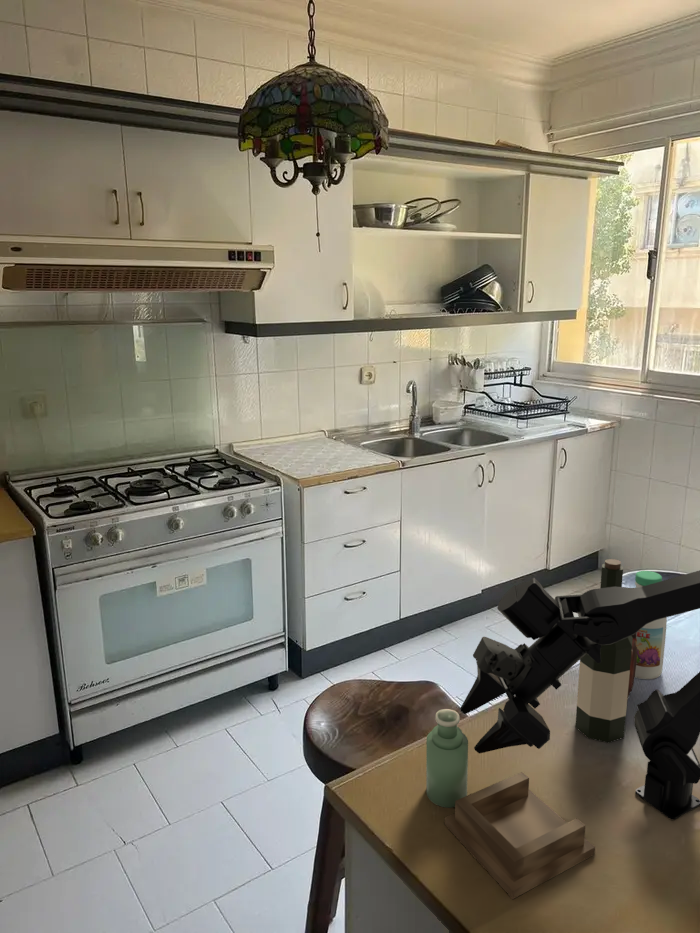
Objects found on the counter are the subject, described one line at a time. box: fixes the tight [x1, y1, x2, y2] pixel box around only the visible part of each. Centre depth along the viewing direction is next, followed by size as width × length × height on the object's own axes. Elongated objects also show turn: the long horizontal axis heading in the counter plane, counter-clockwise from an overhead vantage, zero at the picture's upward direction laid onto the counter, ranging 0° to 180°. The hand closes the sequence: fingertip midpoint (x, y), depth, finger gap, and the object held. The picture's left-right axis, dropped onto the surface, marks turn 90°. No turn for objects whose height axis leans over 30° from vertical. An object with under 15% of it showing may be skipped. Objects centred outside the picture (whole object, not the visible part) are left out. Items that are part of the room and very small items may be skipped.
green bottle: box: [425, 708, 469, 809], centre depth 100 cm, size 6×6×13 cm
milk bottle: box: [634, 570, 668, 680], centre depth 131 cm, size 8×8×20 cm
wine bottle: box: [575, 558, 633, 743], centre depth 113 cm, size 8×8×30 cm
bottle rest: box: [444, 771, 596, 900], centre depth 92 cm, size 14×14×4 cm
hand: (468, 730), depth 99 cm, fingers open, 9 cm apart
